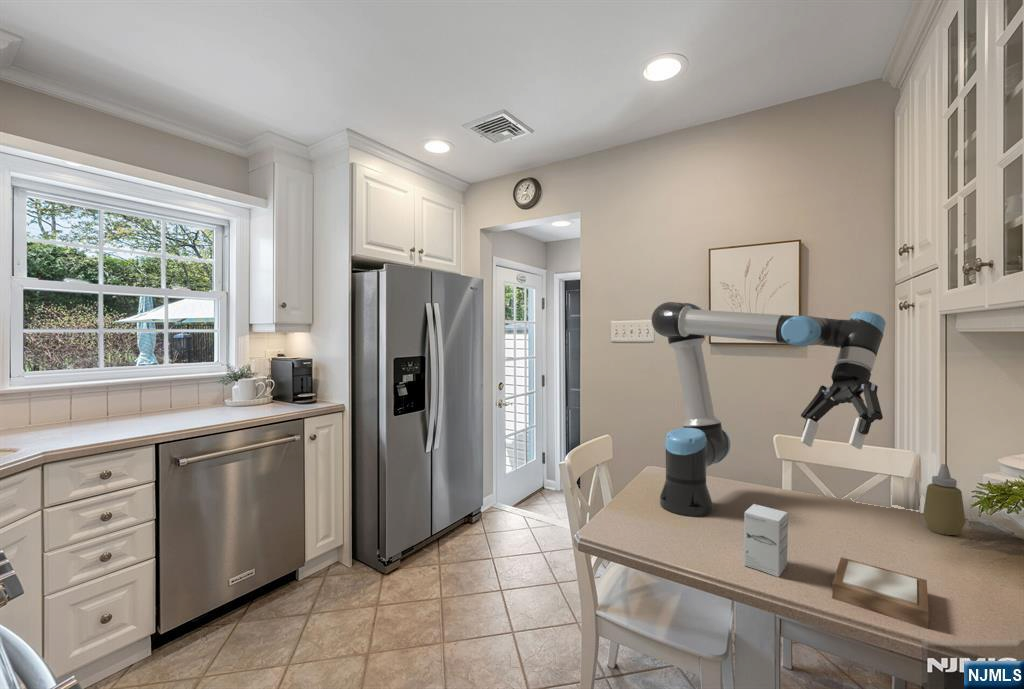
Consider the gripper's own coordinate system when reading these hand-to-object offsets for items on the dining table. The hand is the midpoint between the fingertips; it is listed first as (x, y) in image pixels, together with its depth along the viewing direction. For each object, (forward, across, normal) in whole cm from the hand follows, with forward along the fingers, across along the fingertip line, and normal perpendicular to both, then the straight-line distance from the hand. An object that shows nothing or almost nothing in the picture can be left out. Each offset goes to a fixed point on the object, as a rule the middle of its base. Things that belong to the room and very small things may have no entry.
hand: (828, 445), depth 106 cm
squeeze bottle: (+2, +9, -47) cm, 48 cm away
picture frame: (+28, -12, -10) cm, 32 cm away
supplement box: (+32, +3, +3) cm, 33 cm away
